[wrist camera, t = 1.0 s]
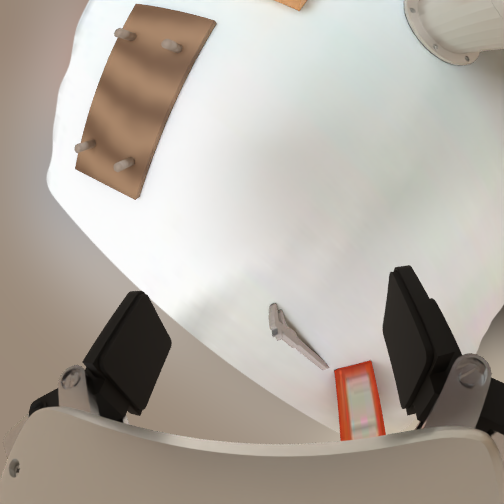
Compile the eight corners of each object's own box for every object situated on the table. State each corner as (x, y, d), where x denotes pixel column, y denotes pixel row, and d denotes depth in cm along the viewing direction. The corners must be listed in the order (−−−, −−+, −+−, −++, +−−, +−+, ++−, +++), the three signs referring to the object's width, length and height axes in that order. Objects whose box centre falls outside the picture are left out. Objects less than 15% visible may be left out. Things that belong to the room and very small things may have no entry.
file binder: (372, 359, 48) (393, 511, 20) (376, 397, 55) (388, 513, 27) (334, 369, 50) (340, 521, 22) (345, 404, 57) (349, 521, 29)
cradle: (140, 5, 22) (122, -4, 18) (216, 23, 23) (206, 11, 19) (79, 166, 34) (60, 175, 30) (139, 197, 36) (122, 209, 32)
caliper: (269, 303, 43) (266, 331, 38) (275, 300, 43) (273, 329, 37) (324, 367, 50) (326, 393, 45) (329, 365, 50) (331, 391, 44)
